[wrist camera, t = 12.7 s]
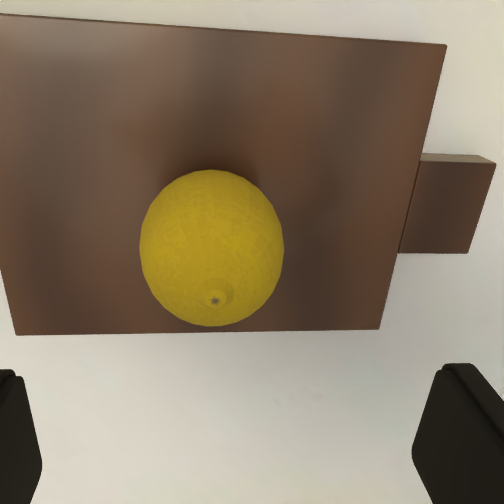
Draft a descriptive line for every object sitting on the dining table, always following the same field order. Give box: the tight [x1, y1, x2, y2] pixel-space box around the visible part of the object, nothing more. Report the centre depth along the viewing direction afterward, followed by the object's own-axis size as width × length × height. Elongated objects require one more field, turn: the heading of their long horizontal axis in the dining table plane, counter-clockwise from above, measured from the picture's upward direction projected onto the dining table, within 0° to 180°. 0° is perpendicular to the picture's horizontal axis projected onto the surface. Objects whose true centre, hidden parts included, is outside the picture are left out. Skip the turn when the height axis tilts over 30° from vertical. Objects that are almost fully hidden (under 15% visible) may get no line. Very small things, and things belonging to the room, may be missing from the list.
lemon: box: [139, 170, 284, 326], centre depth 17 cm, size 6×6×8 cm
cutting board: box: [0, 13, 496, 336], centre depth 21 cm, size 24×15×2 cm, turn 87°
